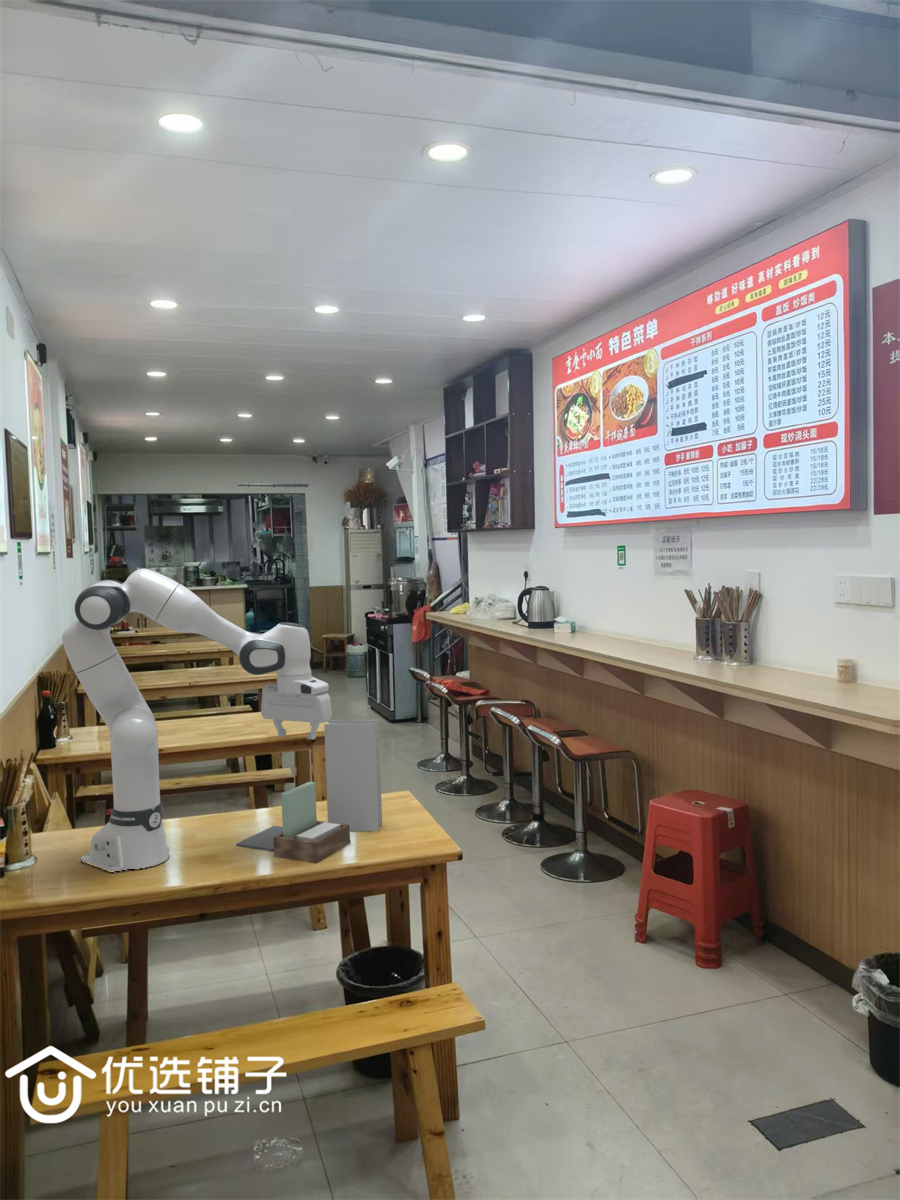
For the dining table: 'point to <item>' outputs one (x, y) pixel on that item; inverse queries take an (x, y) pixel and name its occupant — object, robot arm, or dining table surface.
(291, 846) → the rack
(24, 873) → the dining table surface
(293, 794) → the block
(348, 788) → the brochure
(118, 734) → the robot arm
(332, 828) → the offcut upper
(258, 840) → the mat
